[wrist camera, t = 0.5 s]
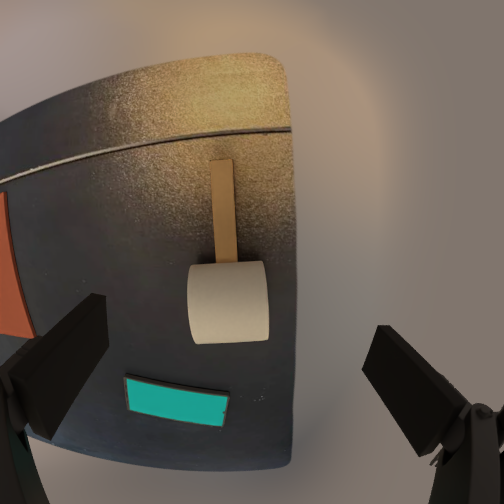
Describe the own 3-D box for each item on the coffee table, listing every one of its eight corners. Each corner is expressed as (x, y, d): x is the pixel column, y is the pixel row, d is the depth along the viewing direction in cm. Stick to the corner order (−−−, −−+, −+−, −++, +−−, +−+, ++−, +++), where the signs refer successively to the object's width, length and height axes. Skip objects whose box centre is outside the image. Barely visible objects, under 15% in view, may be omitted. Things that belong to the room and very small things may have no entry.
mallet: (188, 163, 28) (173, 157, 20) (255, 159, 29) (263, 151, 21) (202, 320, 33) (195, 359, 25) (261, 317, 33) (269, 355, 25)
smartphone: (123, 376, 33) (229, 396, 35) (125, 373, 34) (229, 392, 35) (127, 410, 35) (223, 427, 36) (128, 406, 36) (223, 424, 37)
